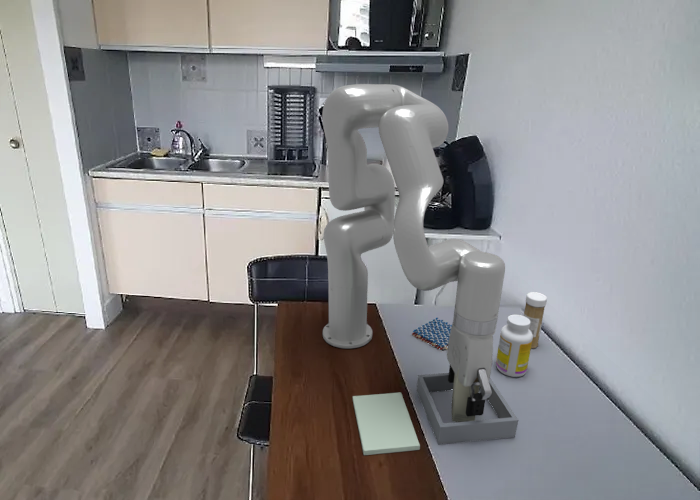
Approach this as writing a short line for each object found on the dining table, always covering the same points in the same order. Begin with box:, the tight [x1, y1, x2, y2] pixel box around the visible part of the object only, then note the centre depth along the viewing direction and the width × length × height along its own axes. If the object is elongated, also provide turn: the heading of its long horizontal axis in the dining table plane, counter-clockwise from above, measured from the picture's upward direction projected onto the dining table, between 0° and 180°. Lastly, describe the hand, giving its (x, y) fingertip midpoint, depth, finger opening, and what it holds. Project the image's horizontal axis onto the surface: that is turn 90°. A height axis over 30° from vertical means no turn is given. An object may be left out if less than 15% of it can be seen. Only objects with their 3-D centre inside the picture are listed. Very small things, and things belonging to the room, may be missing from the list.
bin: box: [416, 372, 519, 445], centre depth 86 cm, size 15×15×4 cm
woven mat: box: [411, 317, 452, 351], centre depth 112 cm, size 10×11×2 cm
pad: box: [352, 392, 421, 456], centre depth 83 cm, size 14×10×1 cm
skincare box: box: [450, 368, 480, 423], centre depth 84 cm, size 6×4×12 cm
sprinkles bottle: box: [523, 291, 548, 349], centre depth 106 cm, size 5×5×13 cm
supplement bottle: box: [495, 314, 533, 378], centre depth 97 cm, size 7×7×13 cm
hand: (464, 397), depth 85 cm, fingers open, 9 cm apart
